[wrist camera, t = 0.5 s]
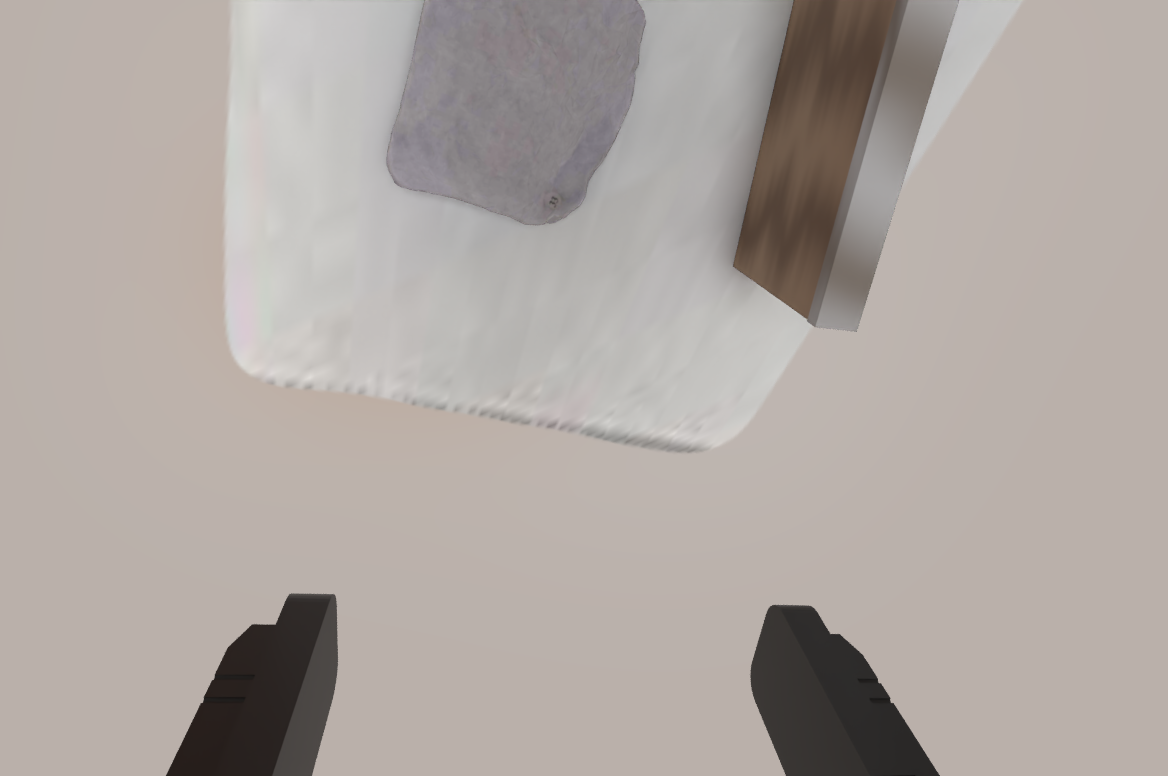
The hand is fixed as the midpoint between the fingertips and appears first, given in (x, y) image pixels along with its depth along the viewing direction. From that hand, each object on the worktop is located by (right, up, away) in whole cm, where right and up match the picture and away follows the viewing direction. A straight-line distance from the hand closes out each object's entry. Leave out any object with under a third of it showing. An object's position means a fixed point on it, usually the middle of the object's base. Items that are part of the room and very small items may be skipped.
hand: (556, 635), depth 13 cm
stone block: (-3, +19, +20) cm, 28 cm away
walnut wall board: (+11, +20, +21) cm, 31 cm away
